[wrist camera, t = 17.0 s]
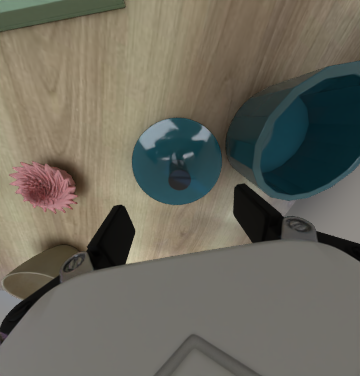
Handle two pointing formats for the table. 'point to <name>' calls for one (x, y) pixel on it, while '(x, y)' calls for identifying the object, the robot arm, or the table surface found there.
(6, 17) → the tray
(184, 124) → the pot lid
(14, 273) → the bowl
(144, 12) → the table surface
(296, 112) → the pot
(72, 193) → the flower
